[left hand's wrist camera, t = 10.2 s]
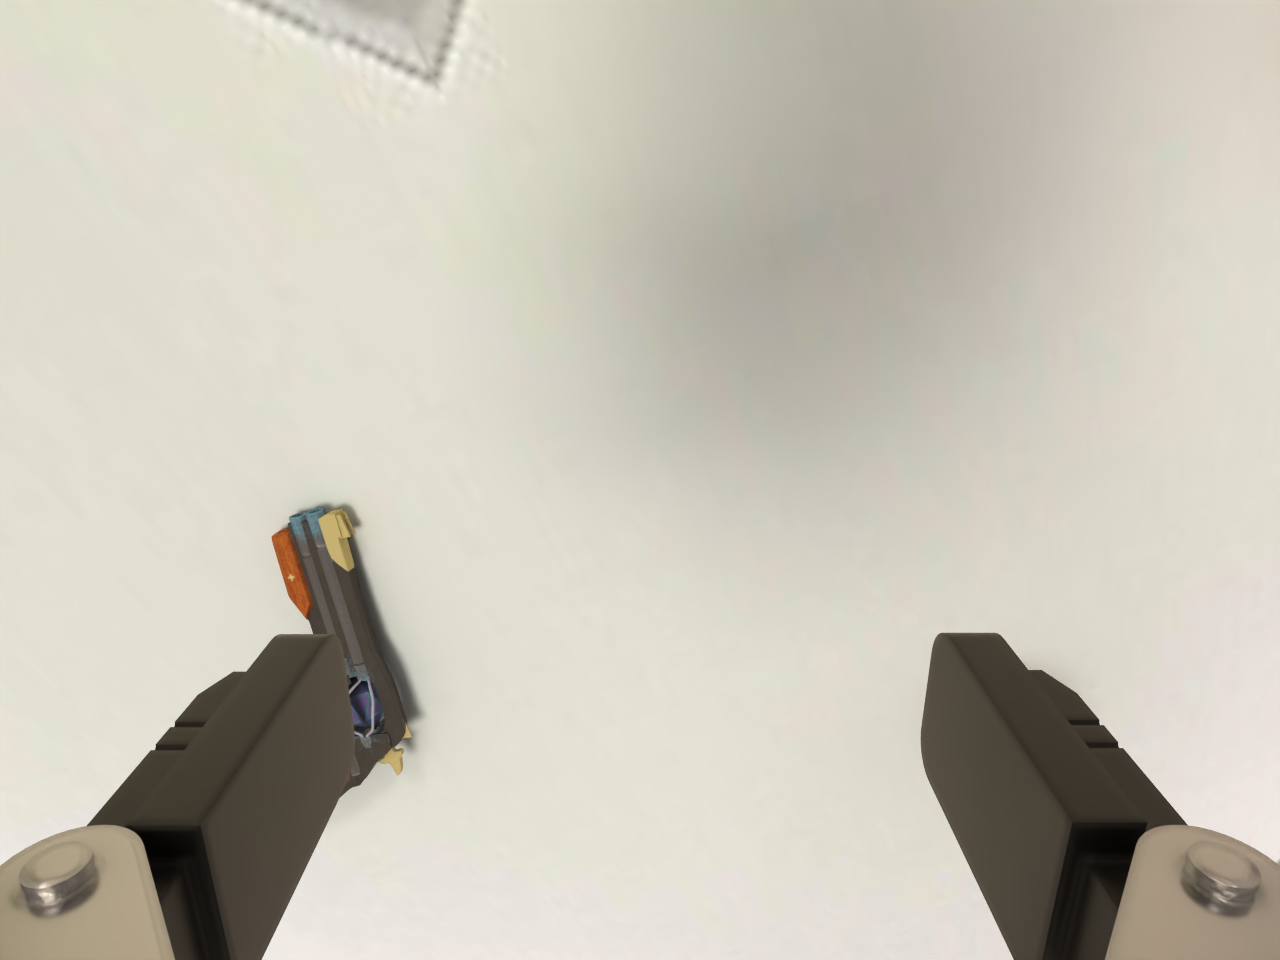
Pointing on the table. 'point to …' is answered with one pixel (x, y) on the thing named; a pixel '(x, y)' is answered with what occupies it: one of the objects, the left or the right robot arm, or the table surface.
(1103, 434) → the table surface
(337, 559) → the toy gun
